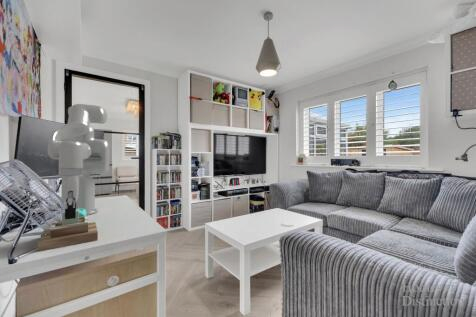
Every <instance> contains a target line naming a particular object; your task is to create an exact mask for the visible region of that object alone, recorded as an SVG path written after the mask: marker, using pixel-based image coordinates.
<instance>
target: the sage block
mask: <svg viewBox="0 0 476 317" xmlns="http://www.w3.org/2000/svg"><path fill="white" fill-rule="evenodd" d="M61 218H62V225H69V224H76V223H79V209H76V218H74V219H65V209H64V210H62V214H61Z"/></svg>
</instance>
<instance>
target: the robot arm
mask: <svg viewBox="0 0 476 317" xmlns="http://www.w3.org/2000/svg"><path fill="white" fill-rule="evenodd" d="M67 114H68V119H67V123H66V124H64V125H62V126H61V127H58V128H57V129H56V130H55V131H53V132H52V134H51V135H50V137H49V141H48V144H47V154H48V157H49V158H51V159H53V160H58V177H59V178H61V190H60V192H61V193H60V194H61V198H60V201H61V202H60V203H61V204H64V203H65V208H64V210H65V219H74V218H76V209H85V210H86V216H88V215H89V216H90V215H93V214H97V213H98V212H99V210H98V209H97V208H95V201H96V200H95V196H96V195H95V194H96V192H95V191H96V190H95V189H96V188H95V187H96V184H95V183H96V182H95V180H94V178H93V177H92V176H91V175H105V174H107V173H109V170H110V144H109V141H107V139H100V138H95V129H94V128H93V127H92V125H91V124H100V125H102V124H106V123H107V119H108V113H107V111H106V109H105V108H104V107H103V106H99V105H93V104H87V103H86V104H85V103H76V104H73V105H71V106H69V107H68V109H67ZM70 139H75V141H69V140H70ZM67 140H68V141H67ZM91 156H98V157H91Z"/></svg>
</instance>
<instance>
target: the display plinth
mask: <svg viewBox="0 0 476 317" xmlns="http://www.w3.org/2000/svg"><path fill="white" fill-rule="evenodd" d="M45 234H46V235H45ZM98 237H99V236H98V228H97V224H96V221H93V222H92V221H91V222H89V219H88V215H86V216H83V217H79V223H76V224H69V225H62V221H61V222H58V223H57V221H55V222H53V221H52V223H51V226H50V228H44V230H43V231H42V234H41V236H40V238H39V240H38V243H37V251H38V252H42V251H45V250H53V249H56V248H57V249H58V248H62V247H67V246H72V245H73V246H74V245H78V244H84V243H88V242H89V243H90V242H95V241H98V239H99V238H98Z"/></svg>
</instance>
